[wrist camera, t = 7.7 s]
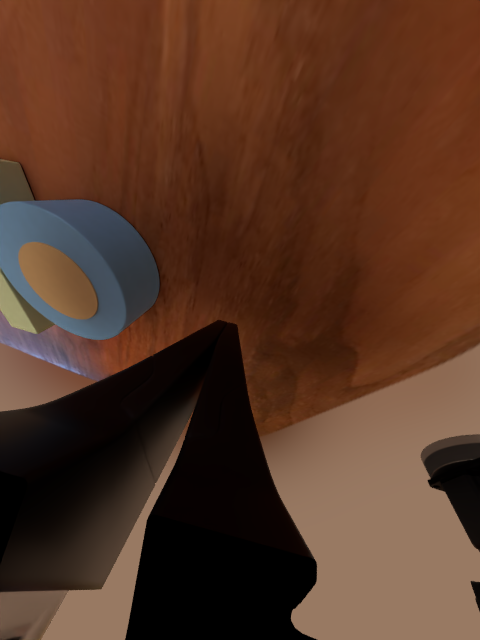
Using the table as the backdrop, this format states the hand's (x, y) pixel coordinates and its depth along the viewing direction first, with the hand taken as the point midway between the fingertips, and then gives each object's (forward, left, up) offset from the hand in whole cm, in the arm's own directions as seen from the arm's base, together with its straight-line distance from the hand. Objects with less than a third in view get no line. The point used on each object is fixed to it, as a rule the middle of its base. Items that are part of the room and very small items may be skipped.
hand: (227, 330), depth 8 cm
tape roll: (+9, 0, -3) cm, 9 cm away
